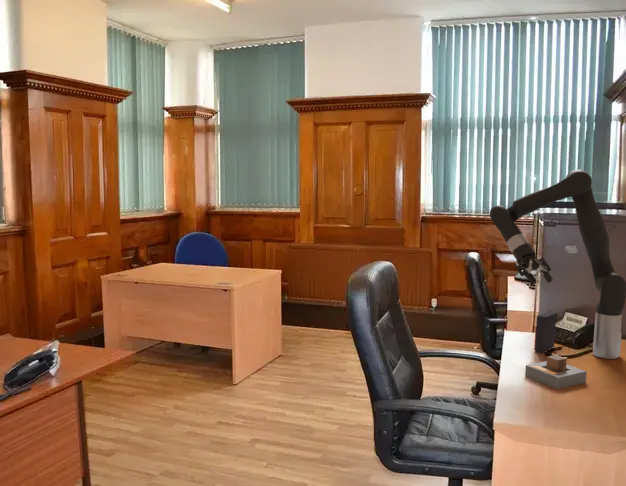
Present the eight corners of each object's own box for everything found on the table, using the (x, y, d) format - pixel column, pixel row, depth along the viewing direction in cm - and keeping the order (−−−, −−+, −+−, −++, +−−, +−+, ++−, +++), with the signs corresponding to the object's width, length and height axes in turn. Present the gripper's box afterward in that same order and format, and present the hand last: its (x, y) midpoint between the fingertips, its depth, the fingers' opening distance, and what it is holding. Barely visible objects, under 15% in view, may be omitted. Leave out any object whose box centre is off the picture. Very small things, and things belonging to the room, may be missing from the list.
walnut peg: (554, 376, 215) (556, 354, 214) (565, 380, 211) (566, 358, 210) (545, 378, 213) (547, 356, 212) (556, 382, 209) (557, 360, 208)
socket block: (552, 370, 221) (553, 359, 221) (585, 382, 209) (586, 370, 208) (525, 376, 215) (525, 364, 214) (557, 389, 202) (558, 377, 202)
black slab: (545, 346, 251) (547, 310, 249) (555, 348, 248) (557, 312, 246) (533, 351, 243) (535, 315, 242) (543, 354, 240) (545, 317, 238)
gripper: (513, 243, 230) (535, 278, 221) (539, 241, 236) (562, 275, 228) (502, 255, 235) (523, 289, 227) (528, 253, 242) (549, 286, 233)
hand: (542, 282), depth 227 cm, fingers open, 8 cm apart
